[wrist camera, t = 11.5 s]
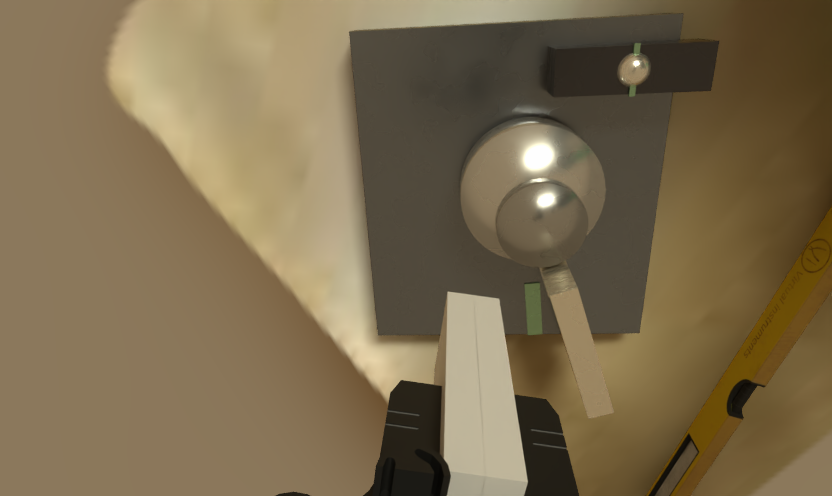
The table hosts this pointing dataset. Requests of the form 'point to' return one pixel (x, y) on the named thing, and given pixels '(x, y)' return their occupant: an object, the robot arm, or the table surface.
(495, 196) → the silver ladle
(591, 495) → the table surface
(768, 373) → the spirit level
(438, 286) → the stand
